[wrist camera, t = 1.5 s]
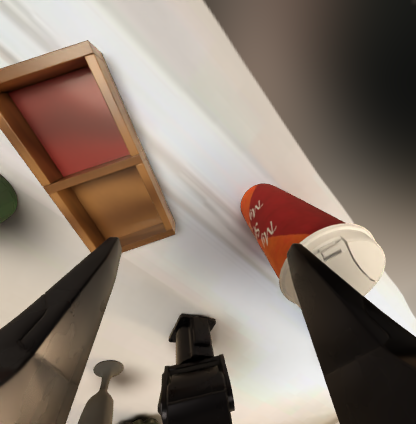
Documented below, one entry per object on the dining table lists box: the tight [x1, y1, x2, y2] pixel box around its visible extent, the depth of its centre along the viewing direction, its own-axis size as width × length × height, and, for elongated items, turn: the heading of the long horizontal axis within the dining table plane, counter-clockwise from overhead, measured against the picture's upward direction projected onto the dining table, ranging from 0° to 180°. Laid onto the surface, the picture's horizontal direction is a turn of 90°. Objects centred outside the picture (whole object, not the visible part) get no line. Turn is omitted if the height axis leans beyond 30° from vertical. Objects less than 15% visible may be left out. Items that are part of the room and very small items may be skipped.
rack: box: [0, 40, 175, 253], centre depth 20 cm, size 18×9×3 cm, turn 17°
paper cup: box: [241, 184, 385, 308], centre depth 20 cm, size 8×8×14 cm
